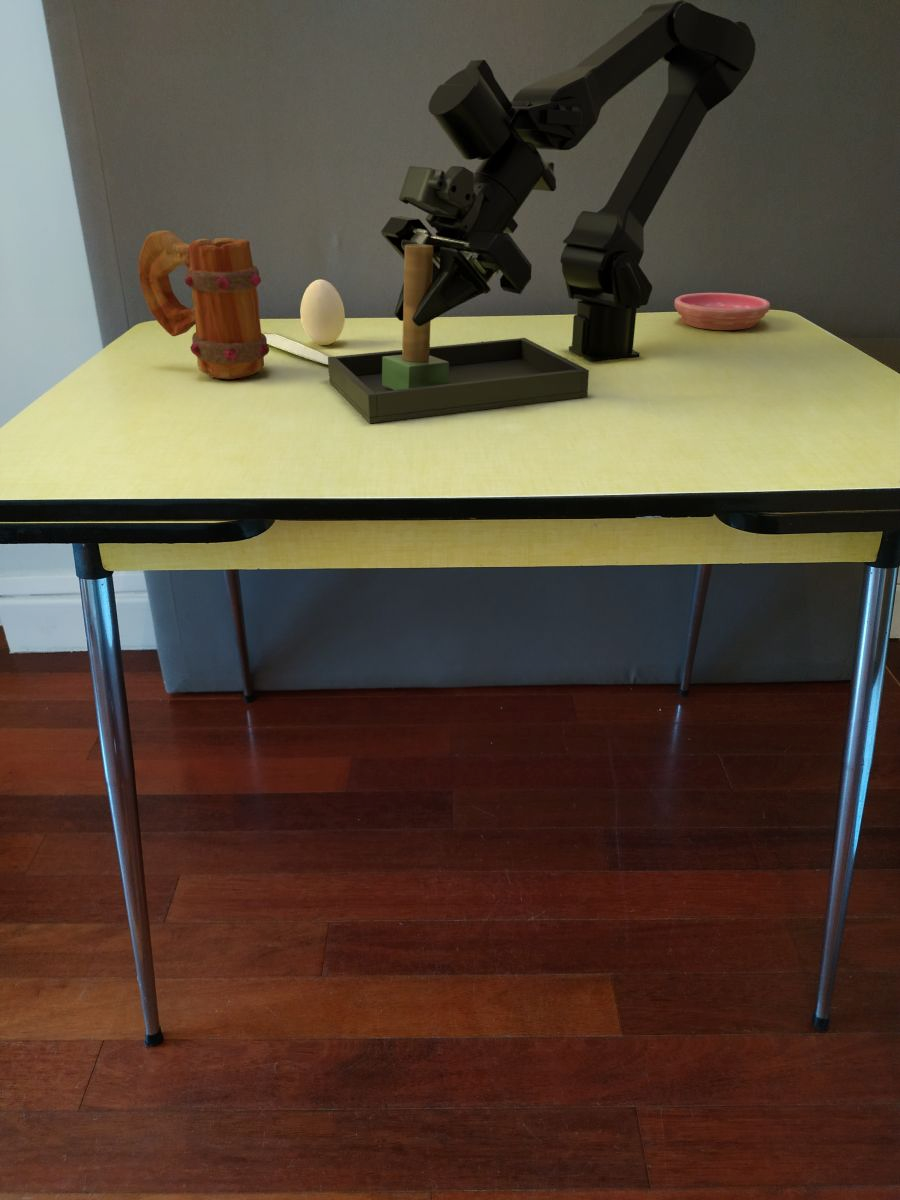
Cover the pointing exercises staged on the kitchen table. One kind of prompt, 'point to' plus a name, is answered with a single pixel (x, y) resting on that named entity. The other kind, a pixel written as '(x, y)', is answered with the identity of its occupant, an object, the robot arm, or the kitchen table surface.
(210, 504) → the kitchen table surface
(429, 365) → the peg on green base
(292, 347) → the knife
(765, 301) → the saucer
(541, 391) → the tray
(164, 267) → the mug
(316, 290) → the egg
